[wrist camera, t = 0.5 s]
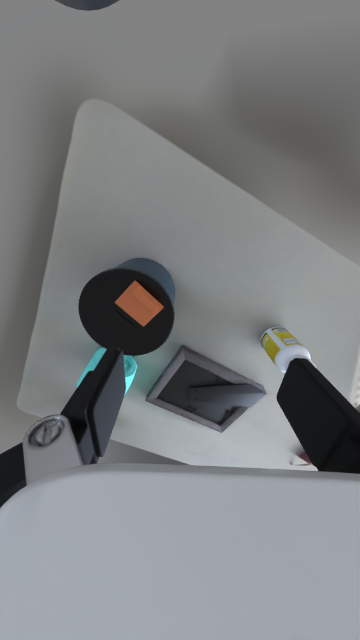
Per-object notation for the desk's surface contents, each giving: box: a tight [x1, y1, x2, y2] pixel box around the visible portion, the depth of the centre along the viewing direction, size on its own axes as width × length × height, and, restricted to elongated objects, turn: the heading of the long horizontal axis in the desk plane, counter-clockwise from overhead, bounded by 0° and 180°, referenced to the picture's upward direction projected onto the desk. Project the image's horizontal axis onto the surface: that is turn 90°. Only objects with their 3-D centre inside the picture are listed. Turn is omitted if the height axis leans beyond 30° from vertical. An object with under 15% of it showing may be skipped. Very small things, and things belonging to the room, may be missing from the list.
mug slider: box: [115, 280, 164, 327], centre depth 21 cm, size 4×4×2 cm
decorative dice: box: [76, 347, 137, 396], centre depth 36 cm, size 8×8×8 cm
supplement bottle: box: [260, 327, 317, 373], centre depth 33 cm, size 5×5×10 cm
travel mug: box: [79, 258, 175, 356], centre depth 28 cm, size 12×12×11 cm
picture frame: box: [146, 345, 267, 433], centre depth 42 cm, size 16×2×21 cm
